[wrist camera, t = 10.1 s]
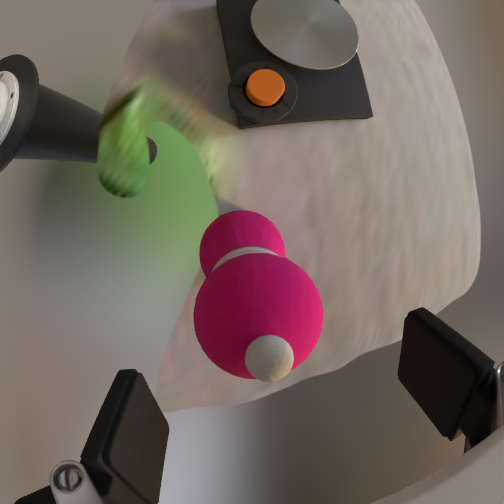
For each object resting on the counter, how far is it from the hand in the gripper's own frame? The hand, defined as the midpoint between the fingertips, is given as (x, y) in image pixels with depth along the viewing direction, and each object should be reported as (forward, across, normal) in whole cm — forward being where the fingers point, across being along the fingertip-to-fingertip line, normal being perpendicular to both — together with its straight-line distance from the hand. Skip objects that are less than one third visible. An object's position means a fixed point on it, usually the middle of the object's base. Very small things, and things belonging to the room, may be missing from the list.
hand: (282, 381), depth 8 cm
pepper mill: (+20, 0, 0) cm, 21 cm away
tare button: (+18, -4, -14) cm, 23 cm away
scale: (+20, -8, -19) cm, 29 cm away
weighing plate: (+17, -10, -21) cm, 29 cm away
